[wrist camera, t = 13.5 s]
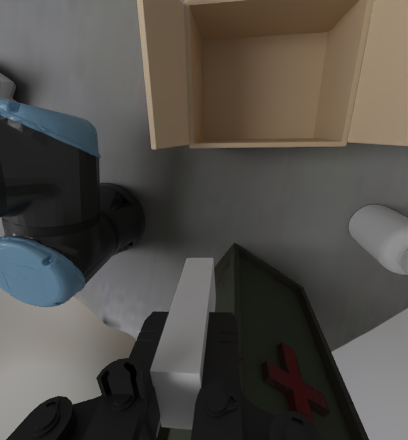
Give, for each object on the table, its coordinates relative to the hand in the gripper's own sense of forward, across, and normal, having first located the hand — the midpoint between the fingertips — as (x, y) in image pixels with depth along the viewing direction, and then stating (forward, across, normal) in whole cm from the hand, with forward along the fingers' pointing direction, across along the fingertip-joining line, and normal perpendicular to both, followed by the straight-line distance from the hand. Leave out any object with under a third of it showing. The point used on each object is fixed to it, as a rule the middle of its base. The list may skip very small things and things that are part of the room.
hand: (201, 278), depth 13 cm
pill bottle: (+33, -28, +11) cm, 45 cm away
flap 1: (+18, +4, -14) cm, 23 cm away
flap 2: (+18, -18, -13) cm, 28 cm away
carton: (+34, -7, -13) cm, 37 cm away
